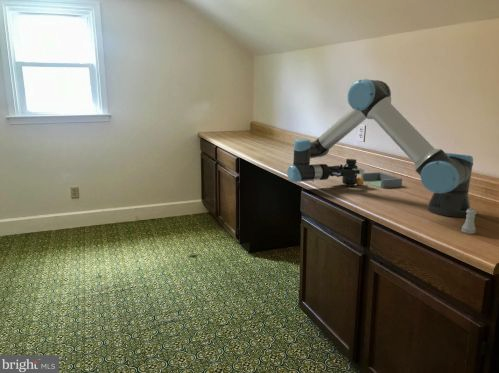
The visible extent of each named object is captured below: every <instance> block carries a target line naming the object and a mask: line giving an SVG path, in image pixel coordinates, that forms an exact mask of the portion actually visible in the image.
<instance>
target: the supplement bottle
mask: <svg viewBox="0 0 499 373" xmlns="http://www.w3.org/2000/svg"><path fill="white" fill-rule="evenodd" d="M343 166H344V167H343ZM343 166H342V167H343V169H346V170H352V169H359V166H358V165H357V159H356V158H355V159H354V158H346V161H345V164H344V165H343ZM341 177H342V179H341V183H342V184H344V185H349V186H354V185H357V184H356V180H357V178H358V174H357V175H355V176H341Z"/></svg>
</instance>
